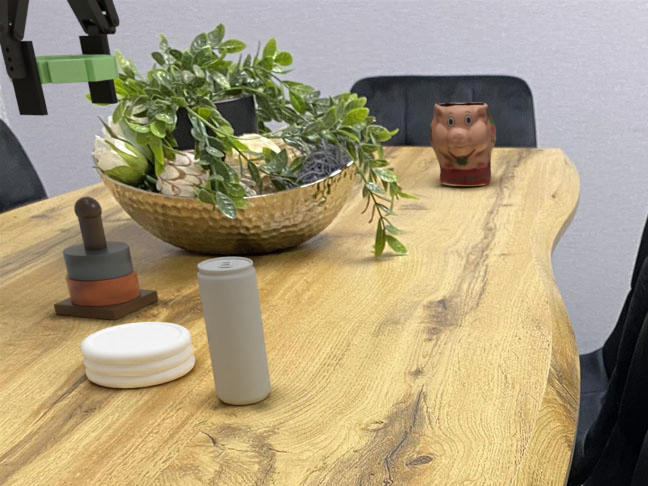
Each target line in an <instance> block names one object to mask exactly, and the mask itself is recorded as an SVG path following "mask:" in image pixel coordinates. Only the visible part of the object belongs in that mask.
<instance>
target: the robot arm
mask: <svg viewBox="0 0 648 486" xmlns="http://www.w3.org/2000/svg"><path fill="white" fill-rule="evenodd" d="M66 1H67V2H66V3H68V5H69V7H70V9H71V11H72V12H73V14H74V16H75V19H77V22H78V23H79V25H80V27H81V28H82V30H83V32H84V33H85V34H86V35H78V39H79V45H80V50H81V54H89V55H112V54H111V49H110V44H109V37H108V35H115V34H116V33H117V28H118V27H119V26H120V18H119V15H118V12H117V9H116V5H115V3H114V0H66ZM29 4H30V0H0V49H1V54H2V58H3V61H4V63H3V64H4V66H5V71H6V74H7V76H8V79H9V78H12V82H11V84H12V86H13V87H12V88H13V91H14V95H15V99H16V104H17V108H18V113H19V116H39V117H40V116H48V115H49V113H48V108H47V102H46V99H45V93H44V90H43V84H41V80H40V76H39V71H38V66H37V61H36V57H35V56H36V52H35V47H34V44H33V43H34V42H33V40H24V38H25V31H26V25H27V18H28V12H29V10H28V9H29ZM87 85H88V90H89V96H90V100H91V104H97V105H99V104H100V105H103V104H104V105H115V104H119V101H118V97H117V90H116V85H115V79H110V80H102V81H88V82H87Z"/></svg>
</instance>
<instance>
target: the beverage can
mask: <svg viewBox="0 0 648 486" xmlns="http://www.w3.org/2000/svg"><path fill="white" fill-rule="evenodd" d="M253 265H254V262H253V260H252V259H250V258H247V257H242V256H222V257H215V258H209V259H206V260H203V261H200V262H198V264H197V270H198V271H197V273H196V274H197V276H196V277H197V283H198V288H199V295H200V301H201V308H202V313H203V319H204V326H205V333H206V339H207V345H208V351H209V357H210V364H211V369H212V370H211V371H212V376H213V382H214V388H215V393H216V394H215V395H216V397H218V399H220V400H221V401H222V402H223V403H225V404H227V405H232V406H233V405H234V406H245V405H252V404H255V403H259V402H262V401H263V400H265V399H266V398H267V397H268V396H269V394H270V392H271V390H272V385H271V377H270V369H269V362H268V354H267V348H266V340H265V332H264V326H263V325H264V324H263V315H262V308H261V307H262V306H261V300H260V294H259V285H258V279H257V278H258V277H257V271H256V268H255V267H254V266H253Z"/></svg>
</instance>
